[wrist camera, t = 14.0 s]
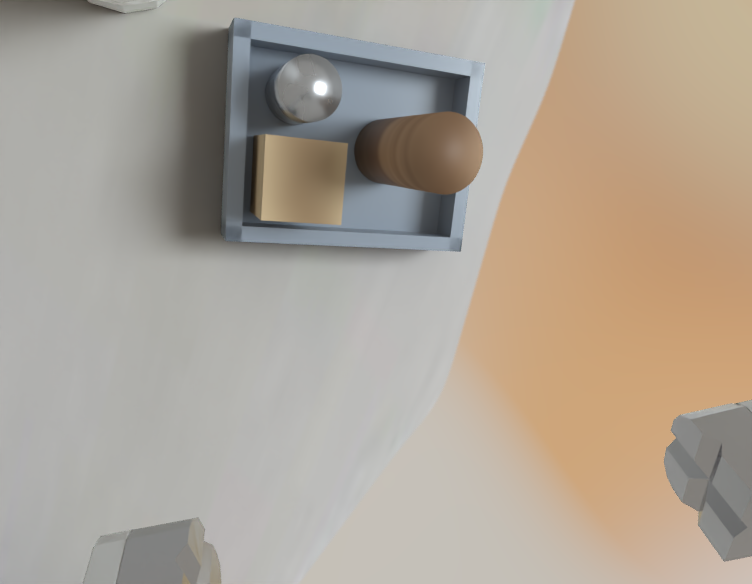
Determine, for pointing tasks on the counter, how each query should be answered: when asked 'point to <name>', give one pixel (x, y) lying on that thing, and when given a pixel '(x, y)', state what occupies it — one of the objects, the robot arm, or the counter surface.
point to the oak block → (297, 179)
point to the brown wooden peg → (421, 152)
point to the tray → (344, 135)
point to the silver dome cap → (304, 90)
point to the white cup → (128, 4)
